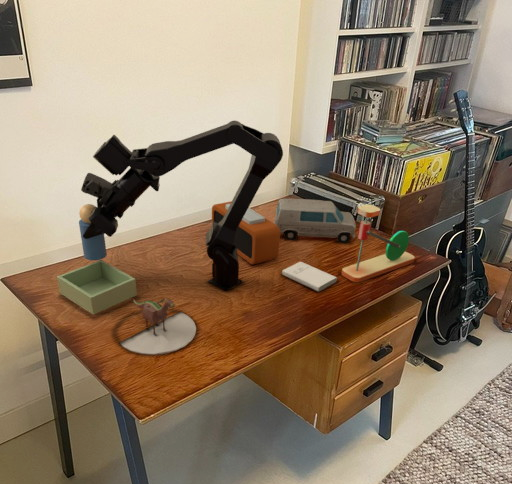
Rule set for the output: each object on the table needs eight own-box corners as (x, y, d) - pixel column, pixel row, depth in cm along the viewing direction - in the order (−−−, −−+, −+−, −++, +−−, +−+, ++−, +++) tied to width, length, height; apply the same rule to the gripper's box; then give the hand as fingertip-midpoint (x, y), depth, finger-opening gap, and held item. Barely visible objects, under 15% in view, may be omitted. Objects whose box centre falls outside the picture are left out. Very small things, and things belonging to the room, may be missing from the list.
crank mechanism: (355, 283, 141) (368, 215, 130) (338, 273, 145) (349, 206, 134) (416, 261, 154) (432, 197, 143) (399, 252, 158) (413, 190, 147)
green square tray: (137, 298, 129) (135, 278, 126) (93, 318, 121) (90, 297, 118) (103, 278, 136) (101, 259, 133) (60, 296, 128) (56, 276, 125)
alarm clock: (211, 234, 161) (211, 198, 155) (234, 229, 165) (235, 194, 159) (254, 267, 146) (256, 229, 139) (278, 260, 149) (281, 223, 143)
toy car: (354, 244, 161) (359, 213, 156) (274, 239, 161) (276, 208, 155) (349, 229, 170) (354, 199, 164) (273, 225, 169) (275, 195, 164)
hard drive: (318, 292, 136) (281, 275, 143) (336, 282, 141) (300, 265, 148) (318, 287, 135) (282, 269, 142) (337, 276, 140) (301, 260, 147)
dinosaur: (212, 333, 119) (212, 291, 112) (145, 365, 108) (141, 321, 102) (164, 300, 129) (162, 261, 122) (99, 327, 118) (93, 285, 112)
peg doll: (110, 257, 130) (103, 206, 122) (88, 262, 127) (81, 210, 120) (101, 248, 133) (95, 199, 126) (80, 253, 131) (72, 202, 123)
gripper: (107, 150, 125) (66, 195, 130) (93, 177, 110) (48, 225, 115) (143, 184, 130) (103, 225, 136) (134, 213, 115) (89, 258, 121)
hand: (86, 232), depth 127 cm, fingers closed on peg doll, 5 cm apart
